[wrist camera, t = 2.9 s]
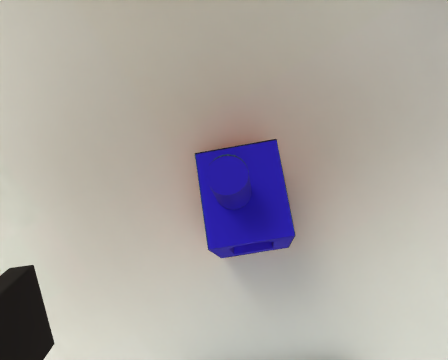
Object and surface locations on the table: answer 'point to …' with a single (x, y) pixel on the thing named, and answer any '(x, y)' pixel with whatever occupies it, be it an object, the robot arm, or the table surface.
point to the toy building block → (244, 199)
